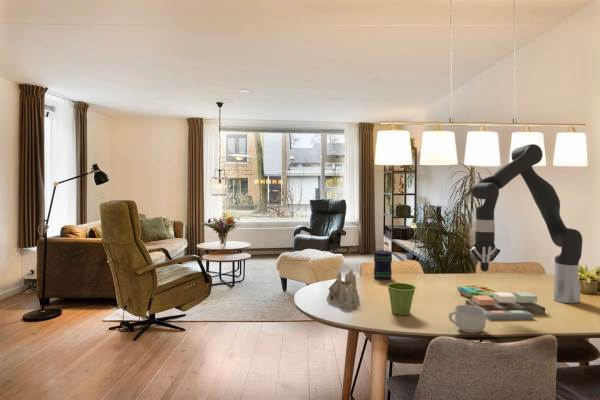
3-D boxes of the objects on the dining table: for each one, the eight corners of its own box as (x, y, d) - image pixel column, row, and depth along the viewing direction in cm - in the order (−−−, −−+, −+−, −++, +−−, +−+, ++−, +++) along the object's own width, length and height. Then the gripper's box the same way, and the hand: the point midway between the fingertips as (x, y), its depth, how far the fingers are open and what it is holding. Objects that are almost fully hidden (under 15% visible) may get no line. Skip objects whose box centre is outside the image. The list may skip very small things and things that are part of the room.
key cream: (507, 297, 180) (507, 292, 180) (516, 302, 174) (516, 296, 174) (492, 297, 180) (493, 292, 180) (500, 302, 174) (500, 296, 174)
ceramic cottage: (332, 295, 199) (332, 264, 198) (365, 301, 192) (365, 269, 190) (318, 305, 186) (318, 272, 184) (353, 312, 178) (354, 278, 176)
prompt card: (525, 315, 170) (525, 309, 170) (533, 319, 165) (533, 313, 165) (482, 315, 169) (482, 310, 169) (488, 319, 164) (488, 313, 164)
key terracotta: (487, 300, 180) (487, 295, 180) (494, 305, 174) (494, 299, 174) (472, 301, 180) (472, 295, 180) (479, 305, 173) (479, 299, 173)
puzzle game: (478, 283, 205) (508, 293, 186) (477, 292, 206) (508, 304, 186) (457, 284, 202) (486, 295, 183) (457, 294, 202) (486, 306, 183)
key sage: (528, 297, 181) (528, 292, 181) (537, 301, 174) (537, 296, 174) (513, 297, 181) (513, 292, 180) (521, 302, 174) (522, 296, 174)
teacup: (477, 325, 158) (478, 304, 158) (492, 335, 147) (492, 313, 147) (441, 325, 157) (441, 304, 157) (453, 336, 147) (453, 313, 146)
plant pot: (402, 319, 164) (403, 291, 164) (380, 312, 174) (380, 285, 173) (421, 314, 171) (422, 286, 171) (399, 307, 181) (399, 281, 180)
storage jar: (370, 277, 237) (370, 251, 236) (383, 275, 241) (384, 250, 241) (381, 281, 228) (381, 254, 227) (395, 279, 233) (395, 252, 232)
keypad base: (528, 305, 184) (528, 299, 184) (545, 313, 172) (545, 307, 172) (465, 305, 183) (465, 300, 183) (478, 314, 171) (478, 308, 171)
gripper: (495, 229, 179) (495, 269, 180) (465, 229, 179) (465, 269, 180) (505, 231, 172) (504, 272, 173) (473, 231, 171) (473, 273, 172)
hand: (484, 271), depth 176 cm, fingers closed
